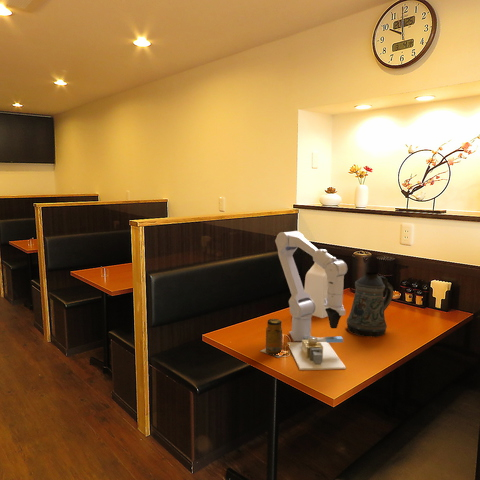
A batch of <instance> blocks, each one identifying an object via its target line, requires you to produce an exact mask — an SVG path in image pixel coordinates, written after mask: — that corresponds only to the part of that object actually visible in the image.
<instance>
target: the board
mask: <svg viewBox="0 0 480 480" xmlns="http://www.w3.org/2000/svg"><path fill="white" fill-rule="evenodd" d="M320 343H321V345H322V346H323V358H322V363H321V365H315V363H314V361H310V358H306V357H305V355H304V353H303V352H302V341H293V342H292V341H291V342H289V341H287V346H288V345H289V344H290V346H288V348H289V350H290V352H291V354H292V357H293V358H294V359H293V360H294V361H295V362H296V365H297V367H298V369H299V370H300V371H313V370H314V371H317V370H321V371H322V370H346V369H347V367H346V365H345V364H344V363H343V361H342V359H340V357H339V356H338V355H337V353H336V351H335V350H334V349H333V347H332V346H331V344H330V343H327V342H320Z"/></svg>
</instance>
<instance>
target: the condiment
mask: <svg viewBox="0 0 480 480" xmlns="http://www.w3.org/2000/svg"><path fill="white" fill-rule="evenodd" d="M266 325H267V327H266V328H265V329H266V330H265V348H264V349H262V350H260V352H262V353H265V354H267V355H271V356H272V357H276V358H281V357H282V356H279V355H276V354H278V353H280V352H281V350H282V349H283V327H282V320H281V319H278V318H270V319H268V320H267V323H266ZM273 354H274V355H273Z"/></svg>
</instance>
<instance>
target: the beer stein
mask: <svg viewBox="0 0 480 480" xmlns="http://www.w3.org/2000/svg"><path fill="white" fill-rule="evenodd" d="M354 287H355V293H354V297H353V301H352V305H351V309H350V312H349V314H348V317H347V319H346V327H347V330H348V331H349V333H352V334H354V335H356V336H358V337H359V336H361V337H364V338H365V337H367V338H377V337H379V338H380V337H382V336H384V335H385V334H386V331H387V326H388V325H387V322H386V317H385V311H386V310H387V308H389V306H390V304H391V303H392V300H393V299H394V298H393V297H394V287H393V285H392V284H391V283H389V281H388V278H386V277H385V276H383V275H379V274H378V273H377V272H366V273H365V274H364V275H363V276H361V277H360V278H358V279H357V280H356V281H355V282H354ZM384 292H385V296H384Z"/></svg>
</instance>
